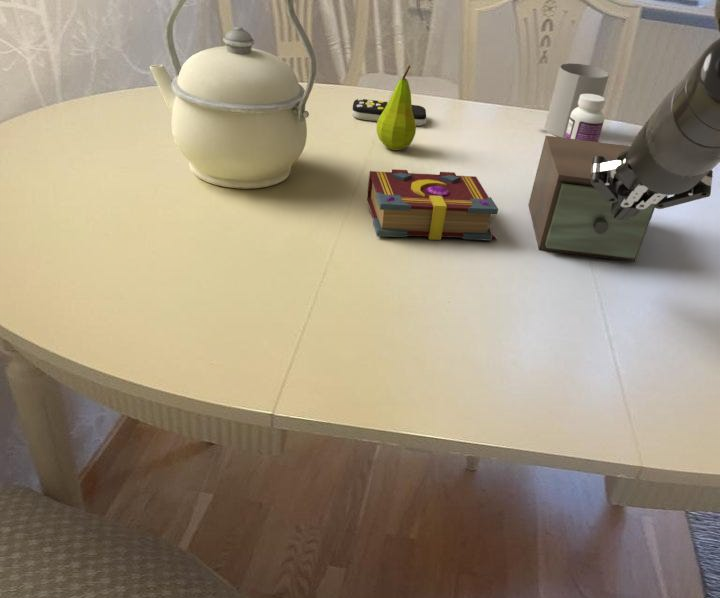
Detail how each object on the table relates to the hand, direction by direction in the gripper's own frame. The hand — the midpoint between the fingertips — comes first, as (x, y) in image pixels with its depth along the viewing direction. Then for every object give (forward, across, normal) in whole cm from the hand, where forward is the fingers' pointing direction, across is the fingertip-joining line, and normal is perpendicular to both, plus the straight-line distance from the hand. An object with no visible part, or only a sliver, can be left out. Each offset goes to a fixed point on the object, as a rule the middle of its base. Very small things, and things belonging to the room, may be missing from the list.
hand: (620, 211), depth 86 cm
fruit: (+34, +26, -21) cm, 48 cm away
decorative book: (+15, +20, -2) cm, 25 cm away
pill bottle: (+38, -4, -25) cm, 45 cm away
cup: (+48, -4, -35) cm, 60 cm away
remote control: (+44, +28, -32) cm, 61 cm away
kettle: (+22, +49, -9) cm, 55 cm away
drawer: (+14, 0, -3) cm, 15 cm away
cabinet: (+17, 0, -4) cm, 17 cm away
